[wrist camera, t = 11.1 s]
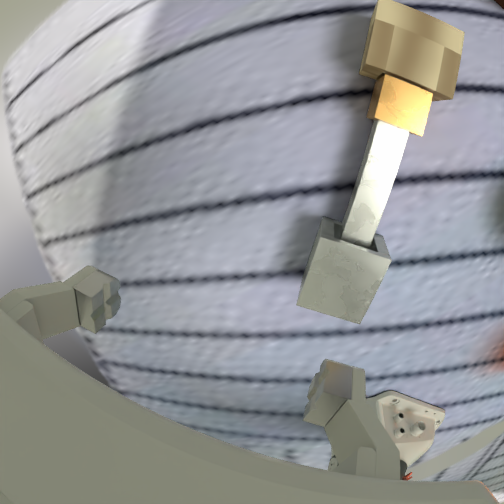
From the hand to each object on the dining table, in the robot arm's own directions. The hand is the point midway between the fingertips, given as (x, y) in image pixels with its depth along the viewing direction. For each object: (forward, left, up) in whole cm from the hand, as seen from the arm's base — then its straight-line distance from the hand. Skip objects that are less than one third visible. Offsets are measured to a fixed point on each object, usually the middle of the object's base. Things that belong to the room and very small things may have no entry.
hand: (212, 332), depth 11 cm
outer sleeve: (-7, +7, -24) cm, 26 cm away
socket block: (-7, -17, -24) cm, 30 cm away
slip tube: (-7, -6, -24) cm, 26 cm away
